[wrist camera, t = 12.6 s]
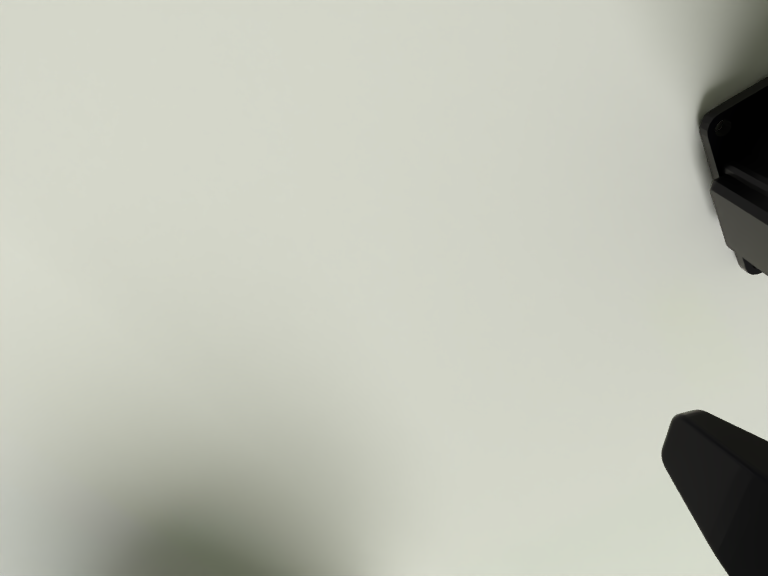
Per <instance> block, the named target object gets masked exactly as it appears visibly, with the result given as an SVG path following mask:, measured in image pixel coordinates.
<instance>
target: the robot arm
mask: <svg viewBox="0 0 768 576" xmlns="http://www.w3.org/2000/svg"><path fill="white" fill-rule="evenodd" d="M722 120H723V124H722V126H721V128H720V129H719V130H718V131H716V132H715V128H716V126H717V124H718V123H719V122H720V121H722ZM699 128H700V135H701V139H702V142H703V146H704V149H705V152H706V156H707V159H708V162H709V166H710V169H711V173H712V176H713V179H714V180H713V181H712V183H711V188H710V193H711V196H712V199H713V202H714V206H715V209H716V212H717V216H718V219H719V222H720V226H721V229H722V232H723V236H724V239H725V242H726V245H727V246H728V247H729V248H730V249H732V250H733V251H734V252H735V254H736V257H737V261H738V264H739V265H740V267H741V268H742V269H744V270H745V271H746V272H748V273H750V274H752V275H754V274H759V273H762V272H763V273H765V274H766V275H767V276H768V77H767V78H765V79H763V80H762V81H760V82H758V83H756V84H755V85H753V86H751V87H750V88H748V89H746V90H745V91H743V92H741V93H739V94H738V95H736V96H734V97H733V98H731V99H729V100H728V101H726V102H724V103H722V104H721V105H719V106H717V107H716V108H714V109H712V110H711V111H709V112H708V113H707V114H706V115H705V116H704V118H703V119H702V121H701V124H700V127H699ZM662 461H663V464H664V466H665V468H666V470H667V472H668V474H669V475H670V477H671V479H672V481H673V483H674V484H675V486H676V488H677V490H678V491H679V493H680V495H681V497H682V498H683V500H684V502H685V504H686V505H687V507H688V509H689V511H690V513H691V514H692V516H693V518H694V520H695V521H696V523H697V525H698V527H699V528H700V530H701V532H702V534H703V536H704V537H705V539H706V541H707V542H708V544H709V546H710V547H711V549H712V551H713V552H714V554H715V556H716V557H717V559H718V560H719V562H720V563H721V565H722V566H723V568H724V569H725V571H726V572H727V574H728V575H729V576H768V441H766V440H764V439H762V438H760V437H758V436H756V435H754V434H752V433H750V432H747V431H745V430H743V429H741V428H739V427H737V426H735V425H733V424H731V423H729V422H727V421H725V420H722V419H720V418H718V417H716V416H714V415H712V414H710V413H708V412H705V411H703V410H692V411H688V412H684V413H680V414H677V415H676V416H674V417H673V419H672V421H671V423H670V426H669V429H668V432H667V435H666V438H665V442H664V445H663V448H662Z"/></svg>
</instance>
